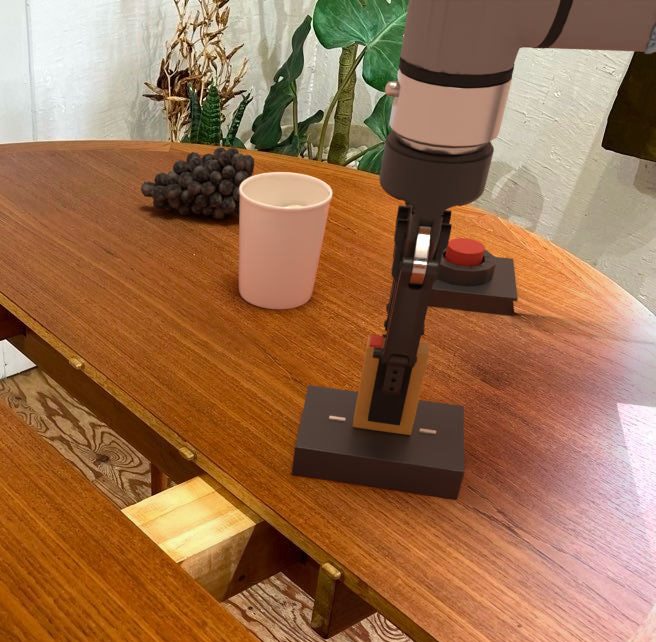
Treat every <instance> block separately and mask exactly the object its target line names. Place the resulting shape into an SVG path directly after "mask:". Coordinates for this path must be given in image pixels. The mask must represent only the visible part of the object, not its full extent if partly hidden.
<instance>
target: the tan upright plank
mask: <svg viewBox="0 0 656 642" xmlns="http://www.w3.org/2000/svg"><path fill="white" fill-rule="evenodd" d="M384 343H385V338H383V336H382V334H381V335H380V334H372V333H371V334H370V335H368V337H367V341H366V346H365V352H364V358H363V363H362V367H361V368H362V369H361V373H360V380H359V386H358V391H357V392H358V396H357V402H356V407H355V413H354V420H353V427H355V428H362V429H369V430H376V431H383V432H390V433H397V434H405V435H411V432H412V428H413V424H414V419H415V415H416V411H417V406H418V402H419V400H420V397H421V393H422V388H423V384H424V380H425V375H426V371H427V368H428V367H427V366H428V362H429V359H430V343H429V342H421V341H420V343H419V347H418V351H417V355H416V356H417V362H416V363H415V366H414V367H412V372H411V376H410V381H409V386H408V390H407V395H406V399H405V404H404V409H403V413H402V418H401V422H400V426H399V425H392V424H385V423H378V422H371V421H368V415H369V409H370V404H371V399H372V394H373V388H374V383H375V378H376V373H377V367H378V362H379V359H378V358H372V357H373V350H374V347H376V348H383V347H384Z"/></svg>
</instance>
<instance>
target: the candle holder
mask: <svg viewBox="0 0 656 642" xmlns="http://www.w3.org/2000/svg"><path fill="white" fill-rule="evenodd" d="M239 195H240V206H239V216H238V218H239V219H238V221H239V222H238V292H239V294H240V296H241V298H242V299H244V301H246V302H247V303H248V304H251V305H253V306H256V307H259V308H262V309H267V310H290V309H296V308H298V307H301V306H304V305H305V304H306V303H308V302H309V301H310V299H311V298H312V296H313V292H314V288H315V283H316V278H317V272H318V267H319V263H320V257H321V253H322V247H323V243H324V242H323V241H324V237H325V231H326V227H327V223H328V215H329V211H330V208H331V207H330V205H331V201H332V199H333V189H332V187H331V186H330V185H329V184H328V183H327V182H325V181H323V180H322V179H320V178H317V177H315V176H311V175H308V174H304V173H298V172H289V171H288V172H287V171H273V172H272V171H271V172H264V173H258V174H254V175H251V176H250V177H249V178H247V179H246V180H244V181H243V182H242V183H241V185H240V187H239Z"/></svg>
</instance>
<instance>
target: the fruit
mask: <svg viewBox="0 0 656 642" xmlns="http://www.w3.org/2000/svg"><path fill="white" fill-rule="evenodd" d="M185 160H186V161H185ZM185 160H182V159H179V160H176V161H175V162H174V163H173V166H172V169H171V170H169V171H168V172H167V174H166V173H165V172H158V173H156V174H155V176H154V182H153V181H144V182H143V183H142V184H141V187H140V192H141V194H142V195H143V196H144V197H145V198H146V197H147V198H152V199H153V200H152V205H153V207H154V208H155V209H156V210H159V211H162V210H165V209H167V210H169V211H171V212H172V211H175V210H176V209H178V212H179V214H180V215H182V216H188V215H189V214H190V213H191V212H193V214H195V215H200V214H202V215H204V216H210V215H212V217H213V218H214V219H215V220H223V219H224V218H225V216H232V215H234V216H236V217H239V206H240V195H239V187H240V185H241V183H242V182H243V181H244V180H246V179H247V178H249V177H252V176H253V174H254V168H255V158H254V157H253V156H252V155H250V154H243V153H241V152H240V151H239V150H238V149H237V148H235V147H230V148H228V149H226V148H225V147H218V148H215V149H214V151H213V153H209V152H207V153H205V154H203V156H202V157H201V156H200V154H199V153H198V152H195V151H192V152H190V153H188V155H187V156H186V159H185Z"/></svg>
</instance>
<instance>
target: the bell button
mask: <svg viewBox="0 0 656 642" xmlns="http://www.w3.org/2000/svg"><path fill="white" fill-rule="evenodd" d="M485 250H486V247H485V244H483V243H482V242H480V241H479V240H476V239H473V238H467V237H457V238H452V239H449V243H448V246H447V250H446V255H445V259H446V260H447V261H448V262H450V263H453V264H456V265H461V266H478V265H480V264H481V263H482V259H483V255H484V251H485Z"/></svg>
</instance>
